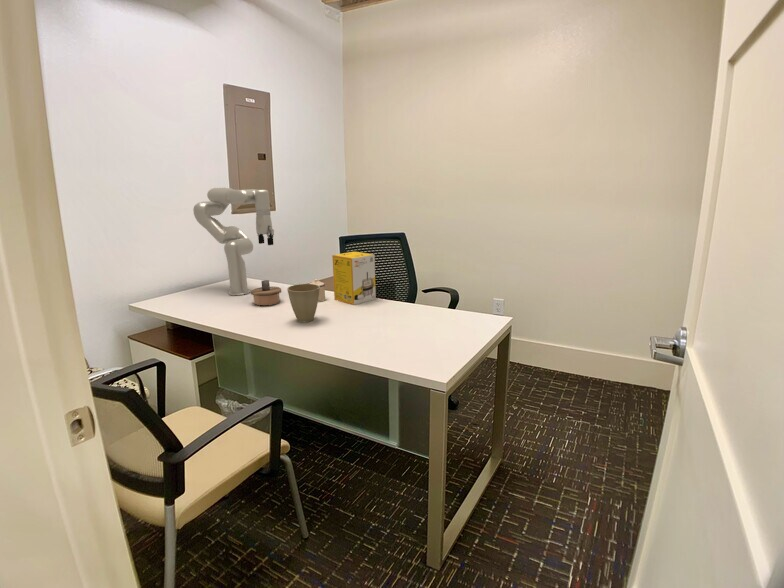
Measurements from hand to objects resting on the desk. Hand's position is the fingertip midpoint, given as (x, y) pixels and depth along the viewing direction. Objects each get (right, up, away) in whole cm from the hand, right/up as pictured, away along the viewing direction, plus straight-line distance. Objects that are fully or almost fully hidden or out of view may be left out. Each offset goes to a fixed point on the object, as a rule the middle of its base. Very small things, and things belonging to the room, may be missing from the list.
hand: (266, 244), depth 243 cm
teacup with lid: (+27, -31, +1) cm, 41 cm away
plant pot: (+29, -40, -35) cm, 60 cm away
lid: (+2, -27, -6) cm, 27 cm away
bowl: (+2, -33, -5) cm, 33 cm away
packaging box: (+50, -31, 0) cm, 58 cm away
